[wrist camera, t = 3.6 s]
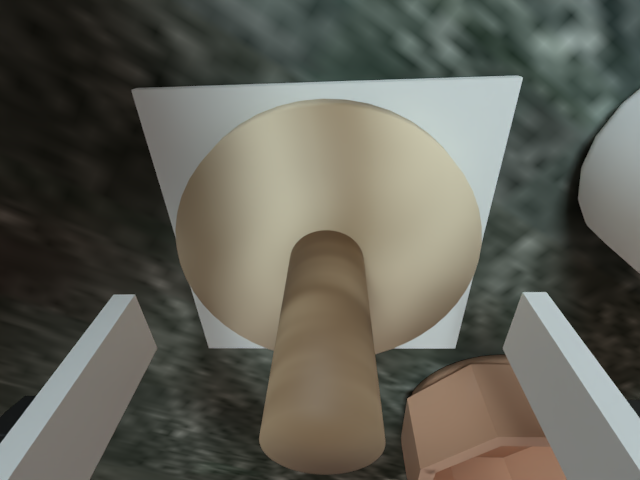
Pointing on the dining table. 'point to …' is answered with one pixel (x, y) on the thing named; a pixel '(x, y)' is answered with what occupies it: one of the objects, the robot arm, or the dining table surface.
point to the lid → (327, 261)
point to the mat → (395, 95)
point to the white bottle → (615, 182)
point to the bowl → (475, 426)
